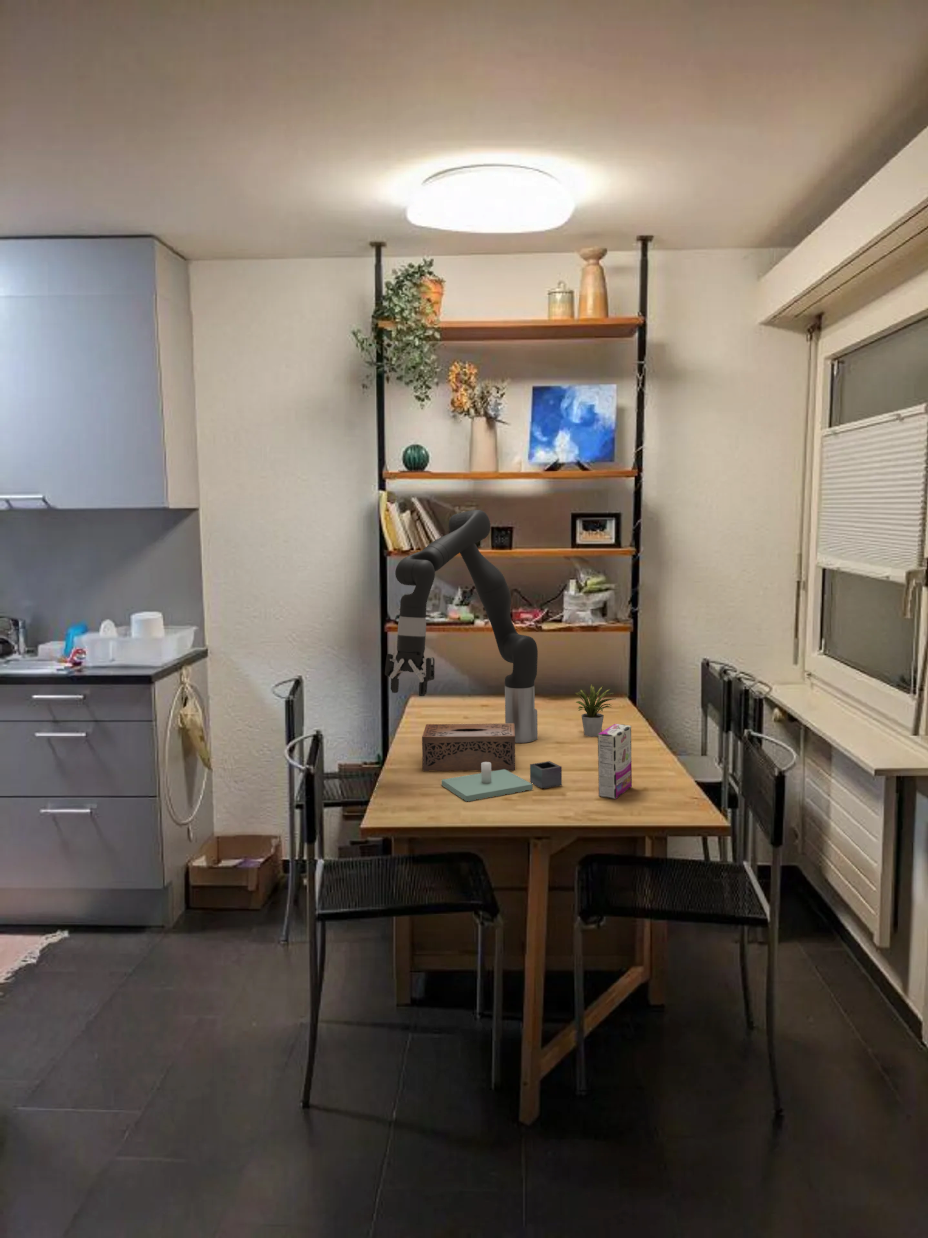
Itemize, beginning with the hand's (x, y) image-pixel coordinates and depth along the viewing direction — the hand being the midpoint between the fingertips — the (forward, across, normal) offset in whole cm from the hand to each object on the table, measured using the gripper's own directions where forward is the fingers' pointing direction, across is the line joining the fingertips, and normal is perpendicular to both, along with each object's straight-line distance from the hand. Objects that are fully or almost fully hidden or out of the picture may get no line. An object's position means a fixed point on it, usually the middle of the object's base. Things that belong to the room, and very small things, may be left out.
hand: (408, 694), depth 234 cm
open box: (+21, -36, -14) cm, 44 cm away
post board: (+22, -23, -4) cm, 32 cm away
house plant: (+15, -29, -65) cm, 73 cm away
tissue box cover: (+21, -8, -22) cm, 32 cm away
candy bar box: (+20, -54, -16) cm, 60 cm away
